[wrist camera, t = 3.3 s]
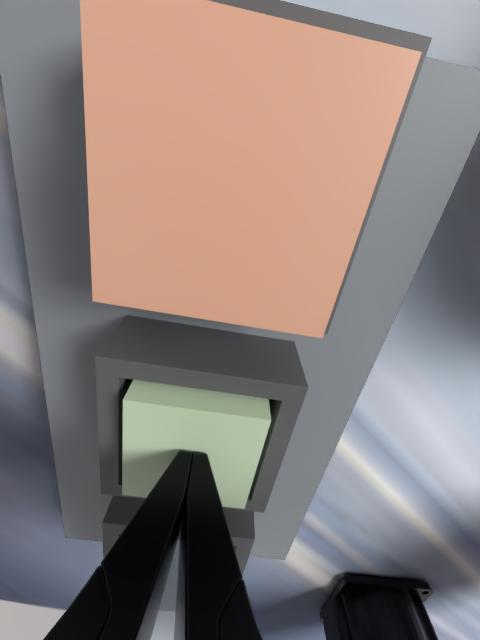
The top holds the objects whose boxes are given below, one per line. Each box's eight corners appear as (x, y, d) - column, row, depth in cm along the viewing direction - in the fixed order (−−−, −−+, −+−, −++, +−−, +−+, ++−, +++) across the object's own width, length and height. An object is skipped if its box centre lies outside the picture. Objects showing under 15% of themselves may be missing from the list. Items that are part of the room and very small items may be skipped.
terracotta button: (344, 102, 6) (422, 52, 4) (295, 282, 8) (322, 338, 5) (151, 59, 6) (78, -30, 3) (144, 255, 8) (92, 301, 5)
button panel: (453, 94, 9) (622, 34, 5) (280, 522, 19) (291, 619, 15) (39, -2, 8) (-158, -169, 4) (82, 500, 18) (36, 597, 14)
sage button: (263, 358, 11) (271, 420, 8) (243, 437, 13) (244, 508, 10) (152, 341, 11) (122, 399, 8) (147, 424, 12) (122, 495, 10)
